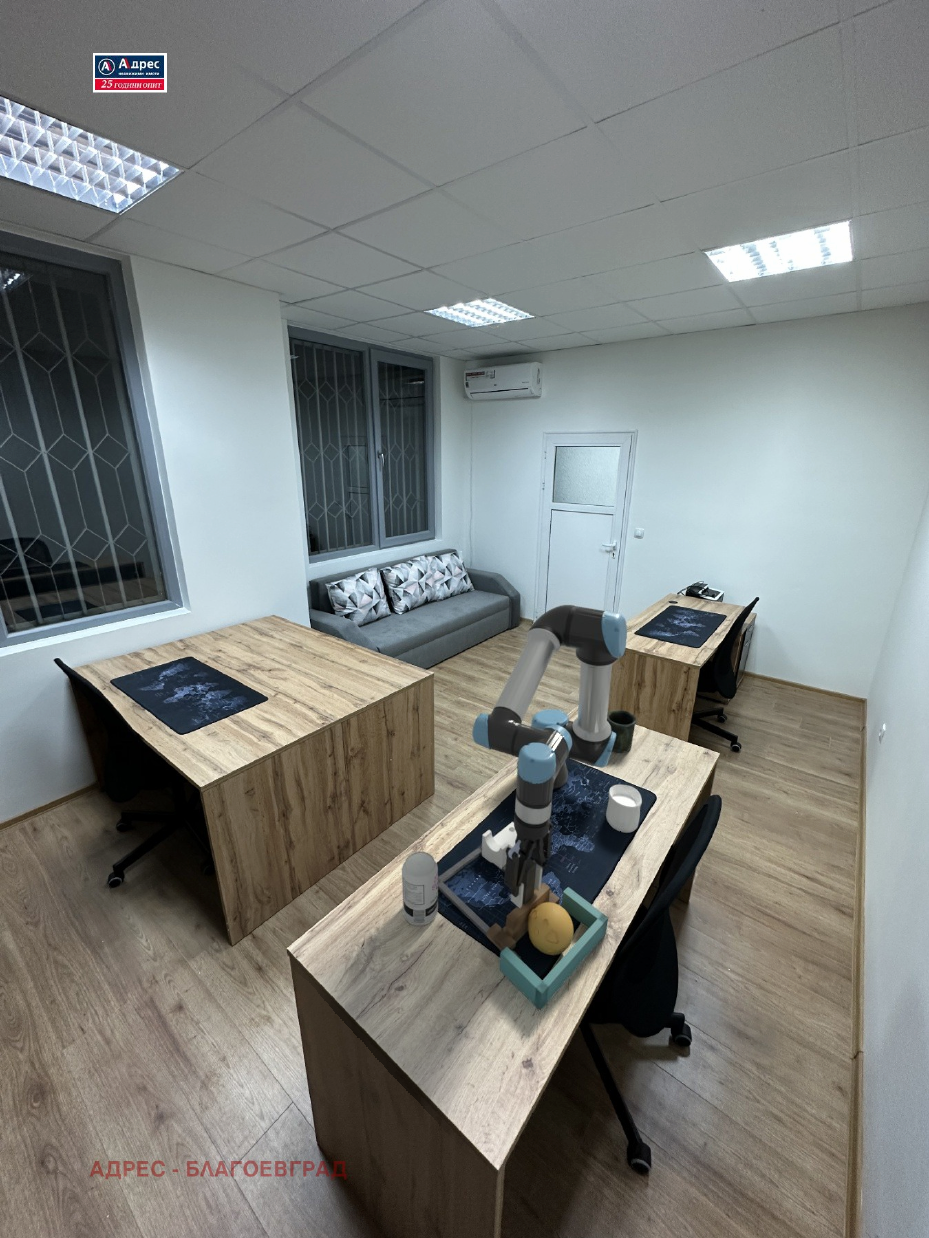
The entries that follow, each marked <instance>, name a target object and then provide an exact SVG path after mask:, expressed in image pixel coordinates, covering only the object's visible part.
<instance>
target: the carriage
mask: <svg viewBox="0 0 929 1238" xmlns="http://www.w3.org/2000/svg"><path fill="white" fill-rule="evenodd" d="M533 861H534V860H532V859H531V858H530V859H528V861H527V865H526V869H525V872H524V876H523V879H522V883H523V884H524V888H523V901H522V907H521V908H519V907H518V906H517V905H516V907H515V908H513V910H511V911H510V913H508V914H507V915H506V920H505V921H506V923H505V926H504V927H503V928H502V927H501V926H500V925H499V924H498V923H497V922H495V923H494V924H493V925H491V926H490V929H489V930H487V935H485V937H487V938H488V939H489V941H490V942H491V943H493V944H494V945H495V947H497V949H499V951H500V952H502V951H503V950H504V949H505V948H506V947H508V948H509V949H510V950H511V951H512V950H514V949H515V948H516V945H517V942H518V941H519V940H521V938H523V936H524V935H525V934H526V933H527V932H529V930H528V922H529V921H528V917H529V914H530V912H531V911H532V909H535V908H536V907H537V906H538V905H540V904H542V903H547V902H551V903H555V904H558V905H560V900H561V899H560V897H559V896H557V895H556V894H555V893H554V892H552V891H551V886H549V885H548V884H546V883H545V882H541V889H540V890H539V891H538V890H536V889H535V888H534V886H535V874H536V863H535V861H534V862H533Z"/></svg>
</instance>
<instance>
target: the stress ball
mask: <svg viewBox="0 0 929 1238" xmlns="http://www.w3.org/2000/svg"><path fill="white" fill-rule="evenodd" d="M561 906H562V905H560V904H555V903H551V902H547V903H542V904H540V905H538V906H537V907H536V908H535V909H532V911H531V912H530V914H529V917H528V921H529V922H528V935H529V939H530V941H531V944H532V945H533V946H534V947H535V948H536V949H538V951H540V952H541V953H543V954H546V955H550V956H556V955H557V956H558V955H560V954H562V953H564V952H566V951H567V950H568V948H569V947H570V945H571V944H572V941H573V938H574V924H573V923H574V922H573V921H572V918H571V915H570V914H569V913H568V912H567V911H566V910H565V909H564V908H562V907H561Z"/></svg>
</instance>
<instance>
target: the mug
mask: <svg viewBox="0 0 929 1238" xmlns="http://www.w3.org/2000/svg"><path fill="white" fill-rule="evenodd" d="M607 721H608V723H609V724H610V726H611V731H613V732H614V733H616V739H615V742H614V745H613V748H612V751H611V752H616V753H626V752H628V751H630V750H631V749H632V746H633V739H634V734H635V733H634V732H635V726H636V723H637V722H638V719H637V717H636V715H635V714H633V713H631V712H629V711H627V710H625V709H623V710H622V709H612V710H609V711H608V713H607Z"/></svg>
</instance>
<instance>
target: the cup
mask: <svg viewBox="0 0 929 1238" xmlns="http://www.w3.org/2000/svg"><path fill="white" fill-rule="evenodd" d="M642 803H643V800H642V794H641V793H640V792H639V791H638V789H637V788H635V787H634V786H632V785H628V784H627V785H626V784H614V785H612V786H611V787H610V788H609V791H608V803H607V807H606V813H605V816H606V817H605V818H606V821H607V823H609V825H610V826H611V827H612V828H613V829H614V830H616V831H618V832H620V831H621V833H626V834H628V833H632V832H634V831H635V830H637V829H638V826H639V823H640V815H641V811H640V810H641V807H642Z"/></svg>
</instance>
